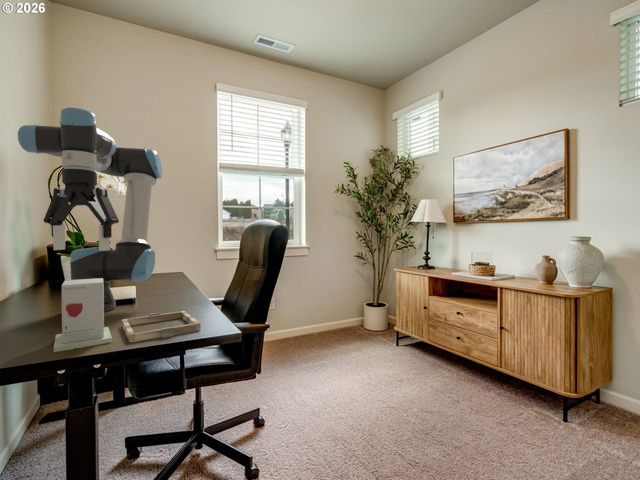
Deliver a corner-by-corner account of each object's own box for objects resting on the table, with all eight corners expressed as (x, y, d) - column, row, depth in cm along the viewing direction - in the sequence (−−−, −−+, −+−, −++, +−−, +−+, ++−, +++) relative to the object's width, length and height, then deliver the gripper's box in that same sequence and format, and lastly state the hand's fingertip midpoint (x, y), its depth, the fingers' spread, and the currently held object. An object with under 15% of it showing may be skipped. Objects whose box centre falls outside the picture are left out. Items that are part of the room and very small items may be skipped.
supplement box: (61, 344, 82) (59, 284, 82) (64, 334, 90) (63, 280, 89) (104, 337, 87) (103, 281, 87) (104, 329, 95) (103, 277, 94)
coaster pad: (56, 338, 90) (55, 334, 90) (108, 330, 97) (108, 326, 97) (53, 352, 80) (53, 347, 80) (111, 342, 87) (111, 337, 87)
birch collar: (121, 325, 103) (121, 317, 102) (183, 315, 113) (183, 309, 113) (130, 343, 86) (130, 334, 86) (201, 330, 97) (201, 322, 97)
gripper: (24, 168, 85) (27, 250, 86) (111, 166, 81) (112, 251, 82) (52, 173, 92) (54, 248, 93) (132, 171, 89) (134, 249, 90)
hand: (81, 250), depth 88 cm, fingers open, 13 cm apart
